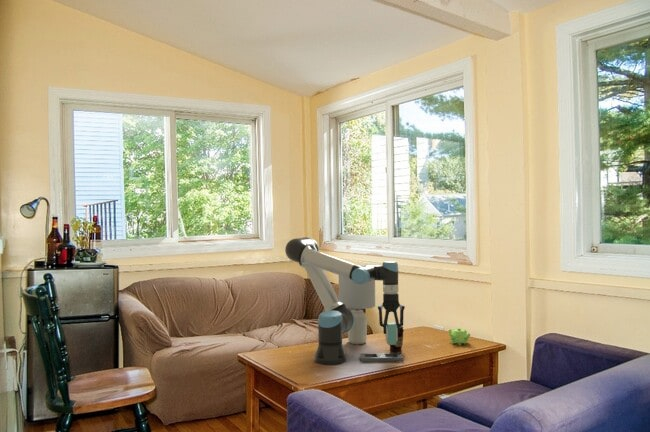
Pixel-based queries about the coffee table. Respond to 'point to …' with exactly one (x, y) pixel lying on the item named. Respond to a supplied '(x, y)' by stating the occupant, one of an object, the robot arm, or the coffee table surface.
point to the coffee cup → (398, 342)
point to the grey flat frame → (381, 357)
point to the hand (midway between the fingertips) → (391, 340)
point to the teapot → (459, 336)
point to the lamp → (357, 305)
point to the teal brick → (391, 333)
